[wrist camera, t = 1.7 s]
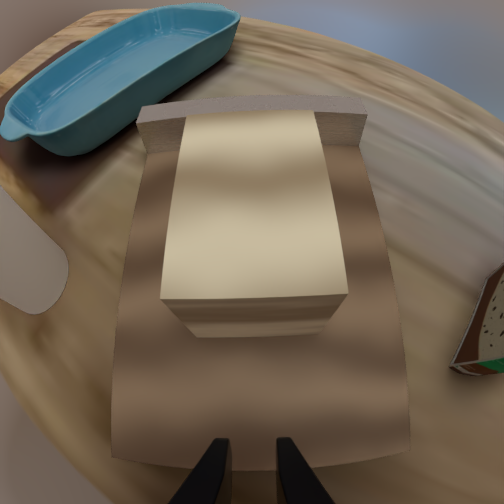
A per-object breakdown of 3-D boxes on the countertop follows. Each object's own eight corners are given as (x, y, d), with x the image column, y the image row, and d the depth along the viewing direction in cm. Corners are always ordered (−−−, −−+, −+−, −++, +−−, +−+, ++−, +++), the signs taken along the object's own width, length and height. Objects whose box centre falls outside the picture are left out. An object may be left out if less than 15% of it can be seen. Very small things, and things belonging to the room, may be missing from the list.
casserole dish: (170, 28, 47) (164, -3, 41) (268, 46, 41) (268, 7, 34) (6, 148, 34) (-17, 117, 28) (66, 209, 28) (31, 165, 21)
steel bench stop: (358, 146, 28) (367, 114, 24) (147, 154, 28) (135, 123, 24) (352, 129, 29) (360, 98, 25) (152, 136, 29) (141, 106, 26)
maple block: (318, 334, 20) (348, 293, 13) (196, 337, 20) (159, 298, 13) (302, 186, 25) (313, 110, 18) (205, 190, 26) (186, 115, 18)
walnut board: (401, 448, 17) (410, 450, 16) (120, 454, 18) (111, 457, 16) (348, 136, 30) (351, 125, 29) (157, 143, 31) (153, 133, 29)
